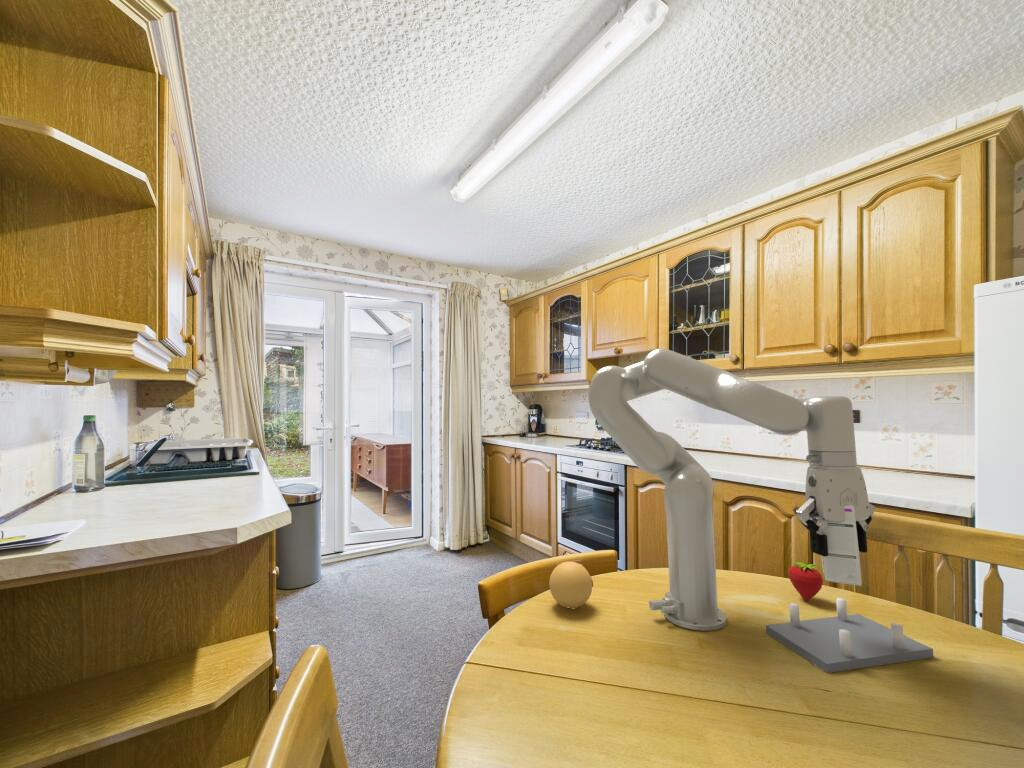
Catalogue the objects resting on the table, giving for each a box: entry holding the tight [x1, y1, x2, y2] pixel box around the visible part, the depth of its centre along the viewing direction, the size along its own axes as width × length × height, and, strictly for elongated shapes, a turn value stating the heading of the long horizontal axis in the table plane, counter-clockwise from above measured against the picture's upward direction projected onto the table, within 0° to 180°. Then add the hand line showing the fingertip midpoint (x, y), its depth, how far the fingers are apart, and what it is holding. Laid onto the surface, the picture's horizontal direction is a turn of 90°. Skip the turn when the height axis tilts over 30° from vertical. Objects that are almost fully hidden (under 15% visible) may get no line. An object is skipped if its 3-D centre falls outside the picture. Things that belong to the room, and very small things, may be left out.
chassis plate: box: [765, 597, 934, 674], centre depth 84 cm, size 22×14×6 cm, turn 100°
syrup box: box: [818, 505, 863, 587], centre depth 85 cm, size 6×6×14 cm
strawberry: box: [787, 556, 824, 602], centre depth 103 cm, size 6×8×10 cm
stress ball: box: [548, 560, 594, 609], centre depth 102 cm, size 10×10×10 cm
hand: (839, 551), depth 84 cm, fingers closed on syrup box, 8 cm apart
